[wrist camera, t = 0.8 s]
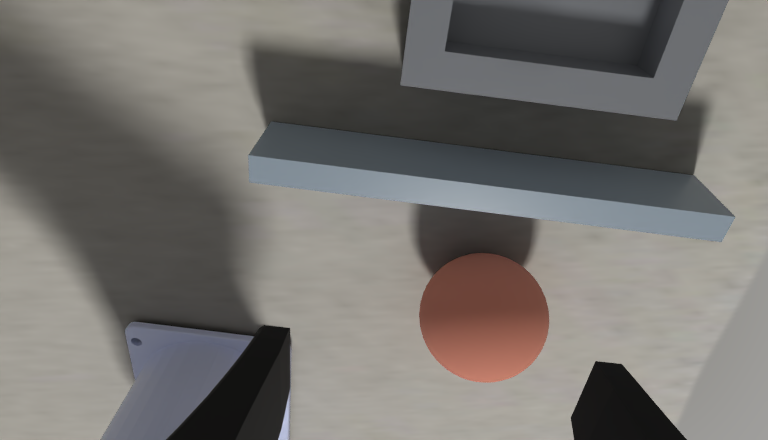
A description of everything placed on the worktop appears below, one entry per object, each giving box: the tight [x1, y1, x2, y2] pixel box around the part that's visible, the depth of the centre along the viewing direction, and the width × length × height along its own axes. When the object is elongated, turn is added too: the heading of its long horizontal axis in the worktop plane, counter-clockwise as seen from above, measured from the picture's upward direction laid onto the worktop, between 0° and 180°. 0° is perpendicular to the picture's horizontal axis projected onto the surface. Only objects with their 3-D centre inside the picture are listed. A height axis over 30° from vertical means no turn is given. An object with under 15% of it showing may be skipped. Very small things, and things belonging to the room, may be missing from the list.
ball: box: [419, 253, 549, 382], centre depth 20 cm, size 5×5×5 cm
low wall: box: [248, 122, 735, 242], centre depth 18 cm, size 1×16×3 cm, turn 84°
